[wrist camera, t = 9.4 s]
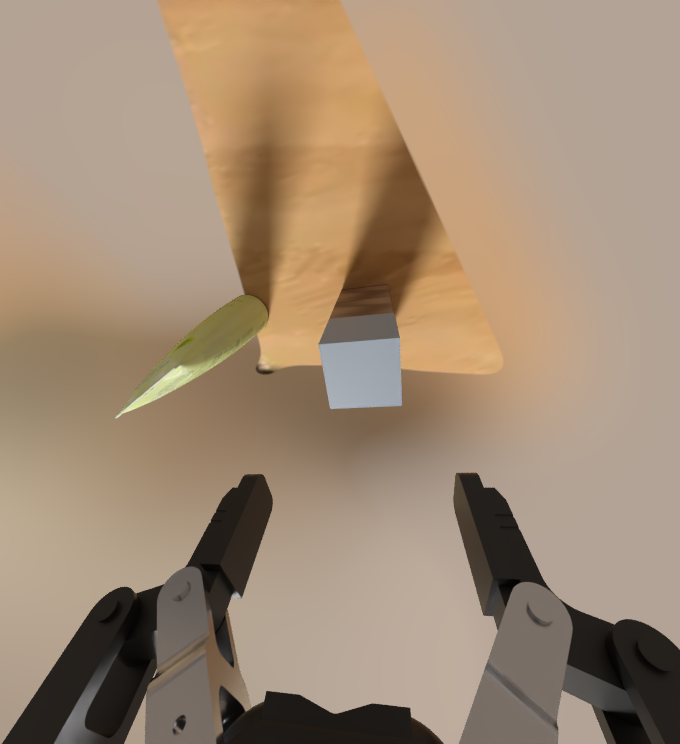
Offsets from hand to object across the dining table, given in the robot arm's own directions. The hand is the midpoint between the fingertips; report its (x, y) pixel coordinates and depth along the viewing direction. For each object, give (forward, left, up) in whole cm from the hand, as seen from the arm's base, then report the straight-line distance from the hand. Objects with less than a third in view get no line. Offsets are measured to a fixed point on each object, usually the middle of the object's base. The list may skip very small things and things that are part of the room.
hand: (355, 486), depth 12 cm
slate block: (0, 0, -15) cm, 15 cm away
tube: (-11, -10, -26) cm, 30 cm away
